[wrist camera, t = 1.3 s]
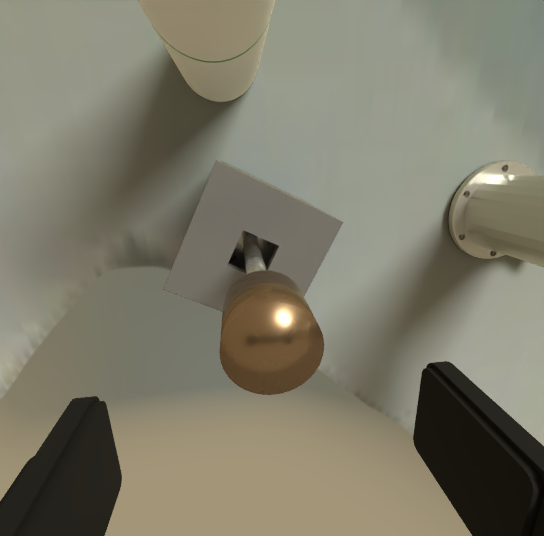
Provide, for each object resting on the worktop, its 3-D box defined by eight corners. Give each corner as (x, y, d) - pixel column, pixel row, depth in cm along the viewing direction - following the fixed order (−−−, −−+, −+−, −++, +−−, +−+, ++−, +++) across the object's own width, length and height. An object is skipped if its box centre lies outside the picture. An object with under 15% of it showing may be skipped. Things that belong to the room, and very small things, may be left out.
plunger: (303, 220, 32) (401, 302, 13) (269, 289, 34) (312, 448, 15) (228, 185, 30) (220, 223, 11) (196, 260, 32) (143, 398, 13)
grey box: (305, 201, 41) (343, 222, 27) (267, 278, 43) (283, 334, 29) (222, 161, 38) (216, 160, 24) (187, 245, 41) (163, 289, 27)
